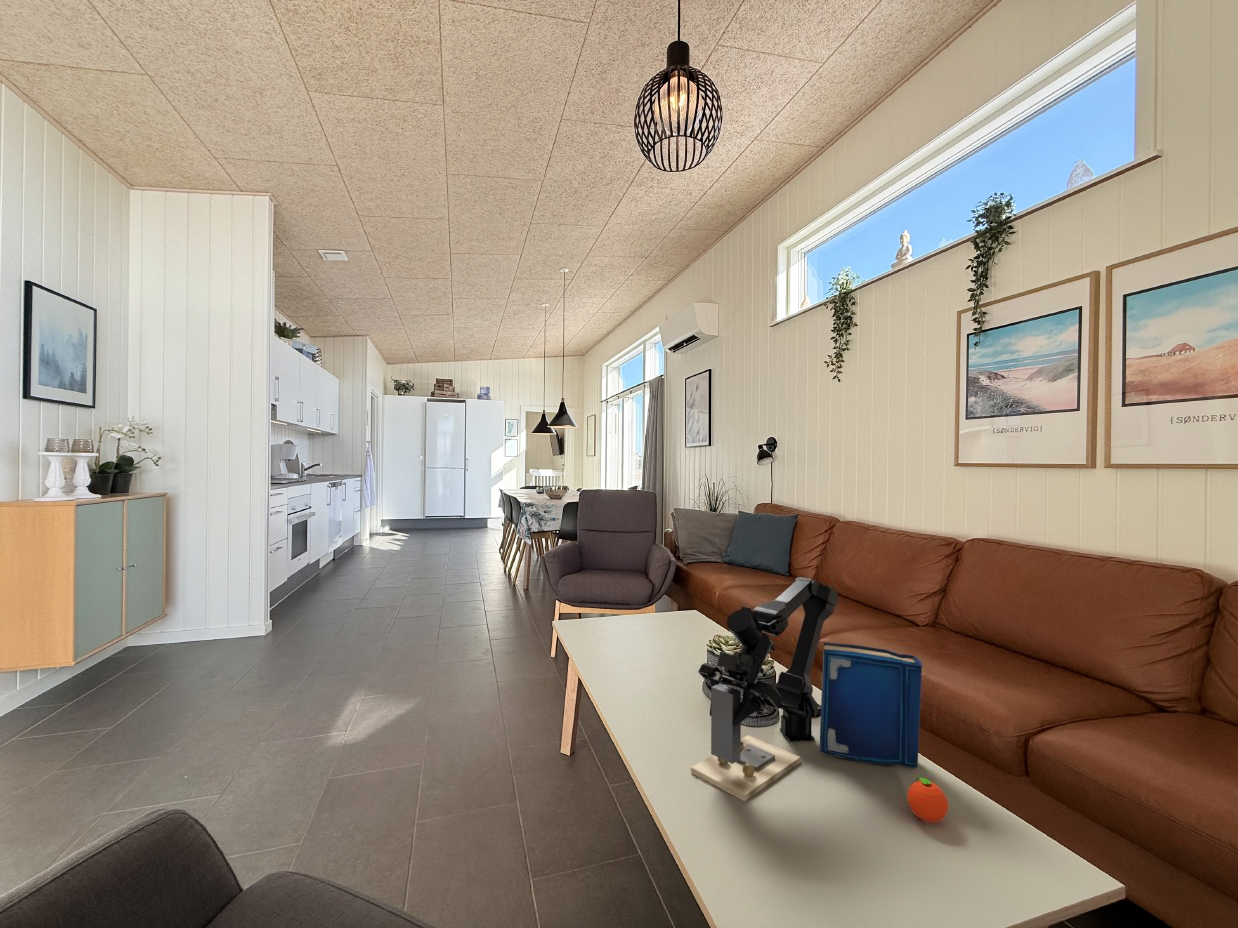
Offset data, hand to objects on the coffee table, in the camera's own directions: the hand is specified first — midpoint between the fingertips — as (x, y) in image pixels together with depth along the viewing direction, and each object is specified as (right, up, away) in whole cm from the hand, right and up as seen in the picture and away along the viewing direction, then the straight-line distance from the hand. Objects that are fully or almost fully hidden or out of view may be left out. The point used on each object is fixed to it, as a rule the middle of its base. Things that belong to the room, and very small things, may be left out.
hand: (722, 720), depth 119 cm
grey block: (+2, -8, +2) cm, 9 cm away
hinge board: (+7, -13, +6) cm, 16 cm away
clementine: (+37, -14, -11) cm, 41 cm away
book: (+36, -14, +11) cm, 40 cm away
